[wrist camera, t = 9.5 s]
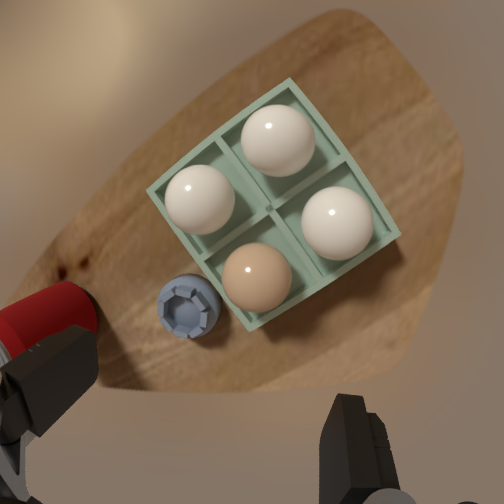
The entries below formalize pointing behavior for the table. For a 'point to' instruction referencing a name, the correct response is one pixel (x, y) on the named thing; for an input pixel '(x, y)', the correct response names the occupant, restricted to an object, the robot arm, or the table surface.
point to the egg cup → (189, 306)
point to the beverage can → (43, 318)
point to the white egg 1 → (199, 199)
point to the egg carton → (276, 204)
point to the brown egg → (256, 277)
